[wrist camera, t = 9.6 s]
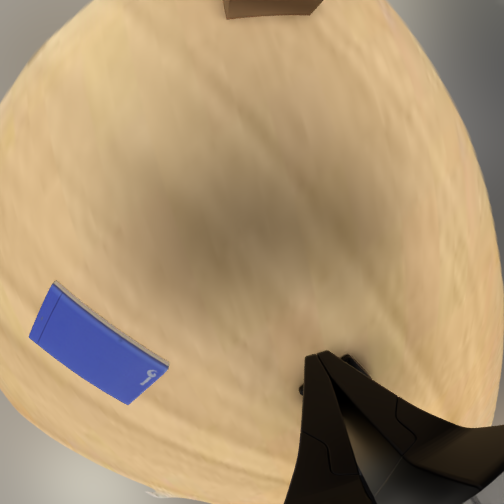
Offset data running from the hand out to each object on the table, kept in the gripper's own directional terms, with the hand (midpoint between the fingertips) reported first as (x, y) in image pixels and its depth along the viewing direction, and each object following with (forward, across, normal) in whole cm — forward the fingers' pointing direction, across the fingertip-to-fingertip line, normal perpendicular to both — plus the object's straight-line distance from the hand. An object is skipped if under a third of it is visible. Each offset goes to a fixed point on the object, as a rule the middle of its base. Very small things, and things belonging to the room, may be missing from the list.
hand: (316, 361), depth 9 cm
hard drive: (+13, +17, +6) cm, 22 cm away
